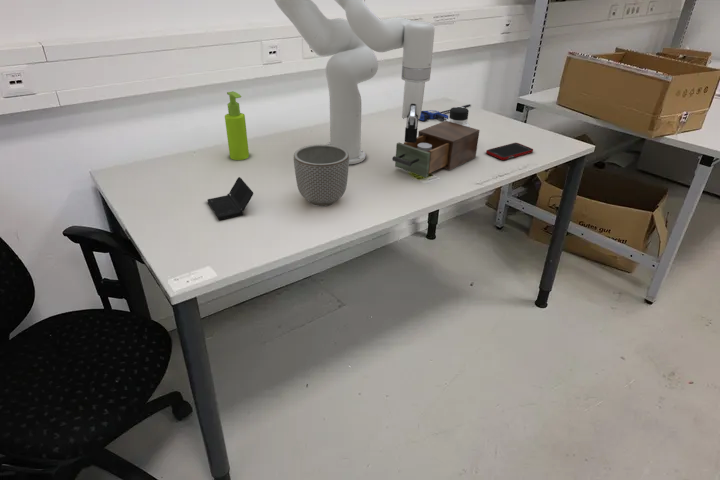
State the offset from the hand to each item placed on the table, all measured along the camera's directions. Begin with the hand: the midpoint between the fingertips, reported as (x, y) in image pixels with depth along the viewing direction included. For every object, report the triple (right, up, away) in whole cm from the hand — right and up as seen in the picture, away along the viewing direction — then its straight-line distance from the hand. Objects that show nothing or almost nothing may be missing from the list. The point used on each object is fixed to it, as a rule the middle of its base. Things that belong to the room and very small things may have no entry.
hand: (411, 136), depth 137 cm
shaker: (+5, -6, +10) cm, 12 cm away
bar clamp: (+21, +21, +59) cm, 66 cm away
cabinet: (+13, -3, +18) cm, 23 cm away
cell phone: (+35, -1, +23) cm, 41 cm away
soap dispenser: (-52, -3, +16) cm, 54 cm away
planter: (-24, -19, -8) cm, 32 cm away
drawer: (+3, -8, +9) cm, 12 cm away
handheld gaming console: (-47, -21, -12) cm, 53 cm away
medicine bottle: (+18, +4, +30) cm, 36 cm away
